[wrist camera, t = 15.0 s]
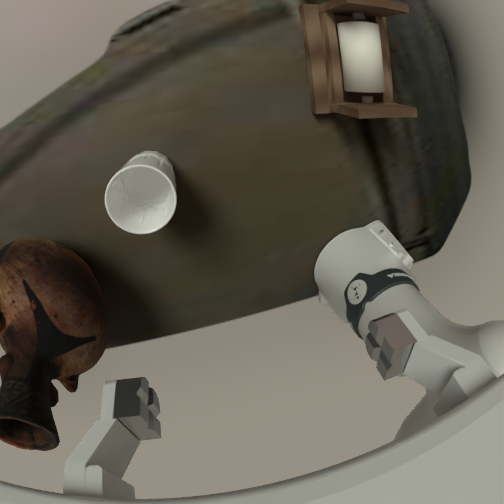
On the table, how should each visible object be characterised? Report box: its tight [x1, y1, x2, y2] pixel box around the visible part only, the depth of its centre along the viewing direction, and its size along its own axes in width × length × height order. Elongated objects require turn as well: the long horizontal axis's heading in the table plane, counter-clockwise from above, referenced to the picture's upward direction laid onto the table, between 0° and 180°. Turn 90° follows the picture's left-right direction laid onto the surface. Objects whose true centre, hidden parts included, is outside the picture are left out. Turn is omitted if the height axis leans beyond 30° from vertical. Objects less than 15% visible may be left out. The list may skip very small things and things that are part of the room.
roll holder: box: [299, 0, 417, 119], centre depth 31 cm, size 16×13×10 cm
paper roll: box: [337, 21, 385, 93], centre depth 32 cm, size 10×6×6 cm, turn 8°
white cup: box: [105, 151, 177, 234], centre depth 35 cm, size 8×8×10 cm
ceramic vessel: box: [0, 237, 109, 451], centre depth 30 cm, size 21×18×30 cm
